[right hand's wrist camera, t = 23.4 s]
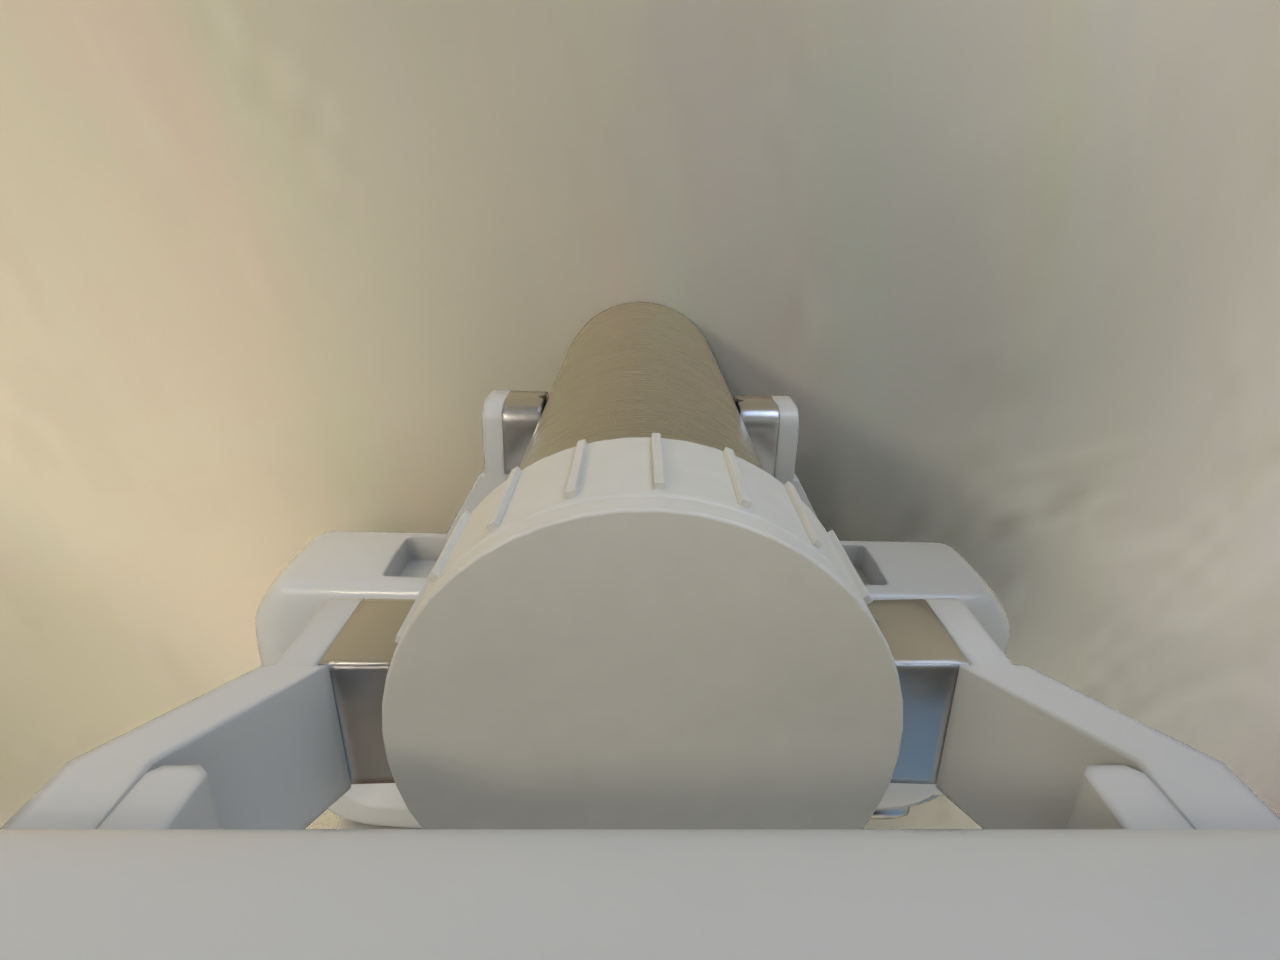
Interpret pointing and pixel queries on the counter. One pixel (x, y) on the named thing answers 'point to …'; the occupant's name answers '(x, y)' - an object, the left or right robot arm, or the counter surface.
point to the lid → (642, 655)
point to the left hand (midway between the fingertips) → (639, 397)
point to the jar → (640, 387)
